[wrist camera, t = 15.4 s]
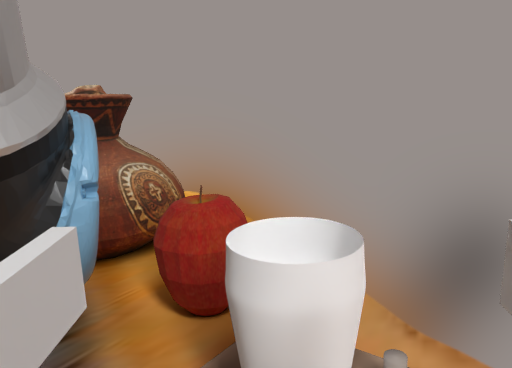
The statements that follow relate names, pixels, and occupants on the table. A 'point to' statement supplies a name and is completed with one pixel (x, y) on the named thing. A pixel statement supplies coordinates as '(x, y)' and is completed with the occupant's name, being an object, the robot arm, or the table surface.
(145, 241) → the jug
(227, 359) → the peg stand
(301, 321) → the cup
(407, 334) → the table surface
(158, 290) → the table surface
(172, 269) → the apple
